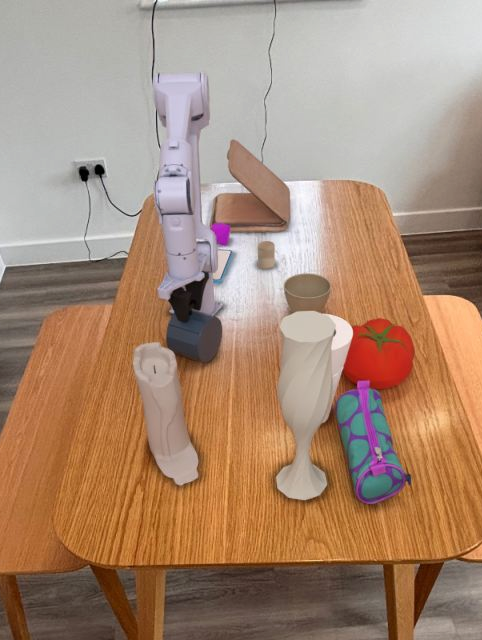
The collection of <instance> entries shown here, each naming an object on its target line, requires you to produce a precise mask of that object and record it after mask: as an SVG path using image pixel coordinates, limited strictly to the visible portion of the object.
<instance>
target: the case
mask: <svg viewBox="0 0 482 640" xmlns="http://www.w3.org/2000/svg"><path fill="white" fill-rule="evenodd" d="M226 159H227V161H228V162H227V168H228V171H229V173H230V175H231V176H232V177H233V179H235V180H236V181H237V182H238V183H239V184H241V186H243V188H245V189H246V190H247V191H248V192H222V193H218V194H217V195H216V196H214V198H213V202H212V203H213V204H212V211H211V216H210V223H209V229H211V227H212V225H213V224H215V223H220V222H221V223H224V224H226V225H228V226H230V233H247V232H249V233H250V232H254V233H255V232H257V233H258V232H259V233H261V232H269V233H270V232H283V231H285V230H286V229H287V228H288V226H289V225H288V223H289V222H290V220H291V191H290V189H289V187H288V185H287V184H286V183H285V182H284V181H283V180H282V179H281V178H280V177H279V176H278V175H276V174H275V173H274V172H273V171H272V170H271V169H270V168H268V167H267V166H266V165H265V164H264V163H263V162H262V161H261V160H260V159H258V157H256V156H255V155H254V154H253V153H252V152H250V150H248V149H247V148H246V147H245V146H244V145H243V144H242V143H240V142H239V141H238V140H236V139H231V140H230V142H229V148H228V150H227V153H226Z"/></svg>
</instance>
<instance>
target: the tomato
mask: <svg viewBox="0 0 482 640" xmlns="http://www.w3.org/2000/svg"><path fill="white" fill-rule="evenodd" d="M351 327H352V329H353V337H352V340H351V343H350V347H349V350H348V353H347V357H346V360H345V363H344V366H343V370H342V373H343V374H344V375H345V377H346V378H347V379H348V380H349V381H350V382H351V383H353V384H355V385H357V383H358V381H370V384H369V388H370V389H375V390H386V389H390V388H394V387H397V386H398V385H400V384H401V383H403V382H405V380H407V378H408V377H409V376H410V374H411V373H412V371H413V368H414V359H415V351H416V350H415V346H414V341H413V339H412V336H411V335H410V333H409V332H408V331H407V330H406V328H405V327H404V326H403V325H396V323H394V324H393V323H392V322H391V320H390V319H386V318H381V317H379V318H372V319H369V320H367V321H366V322H364V323H363V324H362V325H357V324H355V325H352V326H351Z"/></svg>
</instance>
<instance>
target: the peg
mask: <svg viewBox="0 0 482 640" xmlns="http://www.w3.org/2000/svg"><path fill="white" fill-rule="evenodd" d="M275 248H276V247H275V242H273V241H270V240H262V241H259V243H257V266H258V267H259V268H260V269H262V270H269V269H273V268H274V267H275V266H276V261H275V260H276V258H275V257H276V256H275V255H276V253H275V251H276V250H275Z"/></svg>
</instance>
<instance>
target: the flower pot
mask: <svg viewBox="0 0 482 640" xmlns="http://www.w3.org/2000/svg"><path fill="white" fill-rule="evenodd" d="M283 291H284V292H283V293H284V297H285V301H286V303H287V305H288V308H289V309H290V311H291V314H293V313H295V312H297V311H316V312H319V313H322V312H323V311H324V309H325V307H326V305H327V302H328V300H329V297H330V293H331V291H332V283H331V281H330V280H329V279H328V278H327V277H325V276H324V275H320V274H317V273H308V272H304V273H303V272H302V273H298V274H297V273H296V274H294V275H292V276H290V277H288V278H287V279H285V281H284V283H283Z"/></svg>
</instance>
